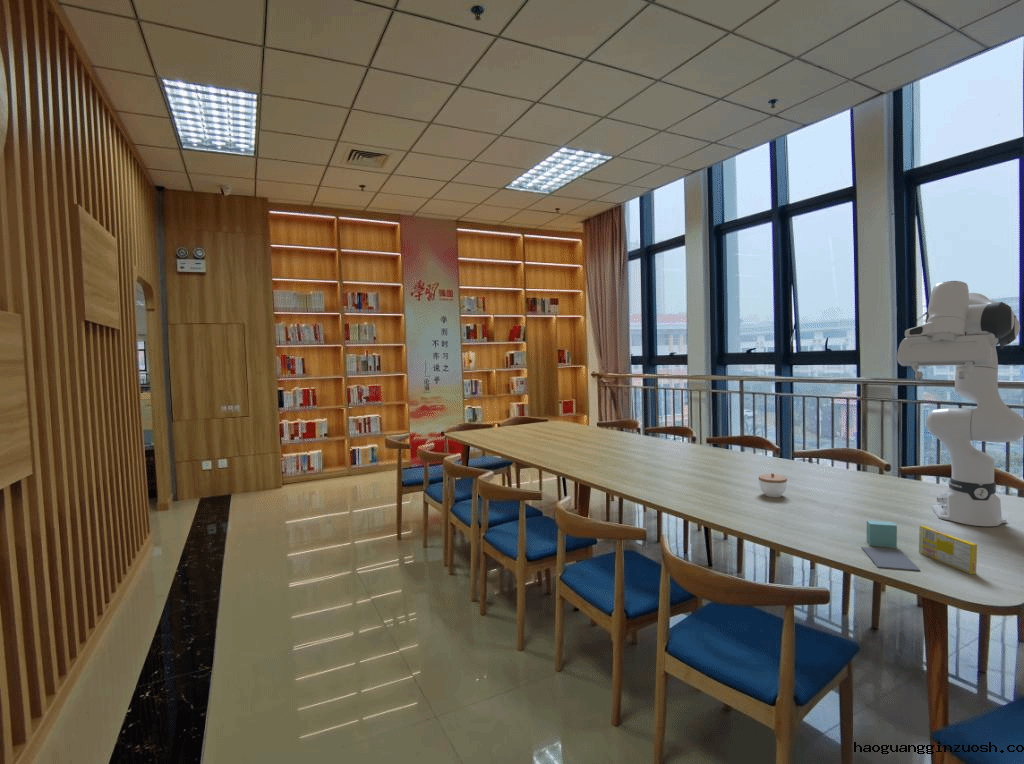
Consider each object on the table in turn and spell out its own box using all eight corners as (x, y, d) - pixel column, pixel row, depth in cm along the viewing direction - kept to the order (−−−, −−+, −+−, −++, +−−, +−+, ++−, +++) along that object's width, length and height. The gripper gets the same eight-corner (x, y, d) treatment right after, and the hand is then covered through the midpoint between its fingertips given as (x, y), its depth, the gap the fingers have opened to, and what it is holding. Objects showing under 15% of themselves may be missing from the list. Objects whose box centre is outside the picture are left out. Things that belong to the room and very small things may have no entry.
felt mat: (861, 548, 161) (861, 546, 161) (900, 551, 158) (900, 549, 158) (877, 567, 147) (877, 566, 147) (920, 571, 144) (920, 569, 144)
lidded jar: (780, 491, 225) (780, 470, 224) (791, 498, 214) (791, 476, 214) (754, 492, 226) (754, 470, 225) (764, 499, 215) (764, 476, 215)
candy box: (977, 574, 141) (978, 544, 140) (970, 575, 141) (971, 544, 140) (924, 551, 157) (924, 524, 157) (917, 552, 157) (917, 525, 156)
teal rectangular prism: (866, 541, 166) (866, 520, 166) (892, 543, 164) (892, 521, 163) (870, 545, 163) (870, 523, 162) (896, 547, 160) (896, 525, 160)
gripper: (997, 336, 139) (993, 383, 135) (904, 340, 155) (898, 383, 151) (993, 325, 135) (989, 373, 132) (898, 330, 151) (892, 374, 147)
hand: (940, 378), depth 141 cm, fingers open, 8 cm apart
